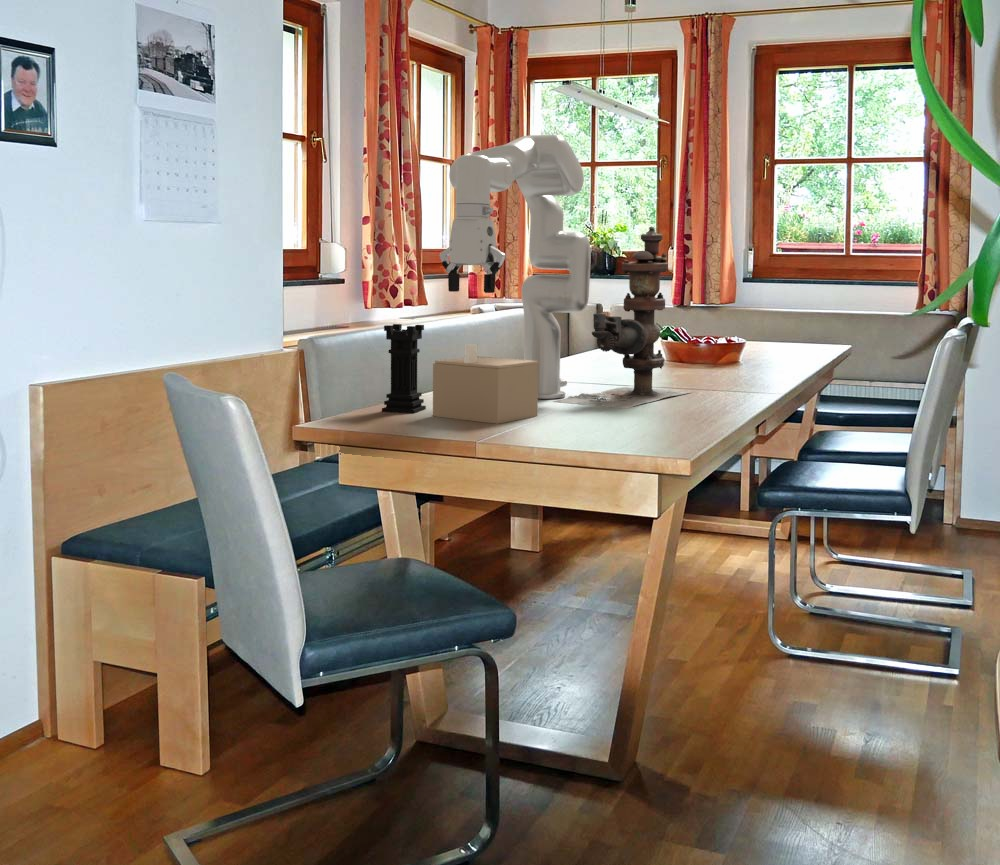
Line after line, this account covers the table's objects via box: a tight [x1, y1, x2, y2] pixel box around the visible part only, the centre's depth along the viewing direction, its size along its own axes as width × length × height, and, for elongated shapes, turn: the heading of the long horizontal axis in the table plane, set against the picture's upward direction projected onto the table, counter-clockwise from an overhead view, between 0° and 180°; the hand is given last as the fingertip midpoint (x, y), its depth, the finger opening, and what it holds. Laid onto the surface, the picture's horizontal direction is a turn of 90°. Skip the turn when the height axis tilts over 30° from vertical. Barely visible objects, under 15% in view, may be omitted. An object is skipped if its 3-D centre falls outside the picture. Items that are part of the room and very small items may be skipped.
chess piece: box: [381, 323, 427, 414], centre depth 261 cm, size 8×8×20 cm
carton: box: [432, 362, 539, 425], centre depth 255 cm, size 16×18×12 cm
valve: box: [553, 226, 693, 409], centre depth 291 cm, size 42×20×45 cm, turn 147°
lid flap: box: [434, 343, 538, 369], centre depth 253 cm, size 16×18×5 cm
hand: (471, 292), depth 246 cm, fingers open, 9 cm apart
